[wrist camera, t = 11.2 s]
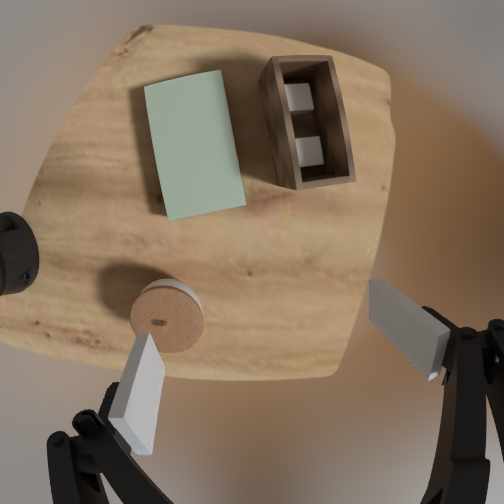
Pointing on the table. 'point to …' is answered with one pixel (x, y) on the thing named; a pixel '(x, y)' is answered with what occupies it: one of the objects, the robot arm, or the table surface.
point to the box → (307, 121)
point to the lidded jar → (168, 315)
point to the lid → (194, 145)
